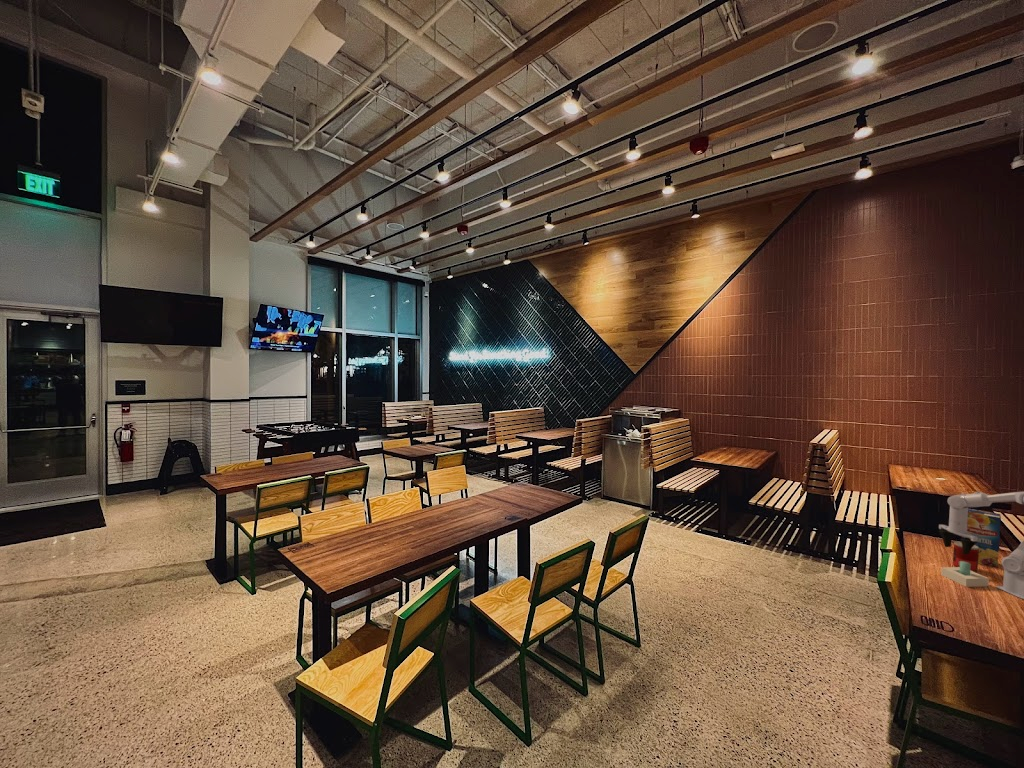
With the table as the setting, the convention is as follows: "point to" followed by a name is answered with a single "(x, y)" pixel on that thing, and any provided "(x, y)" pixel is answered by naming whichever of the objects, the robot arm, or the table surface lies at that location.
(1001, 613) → the table surface
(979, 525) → the juice carton
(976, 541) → the robot arm
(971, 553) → the canned food
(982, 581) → the socket block
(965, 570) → the peg
